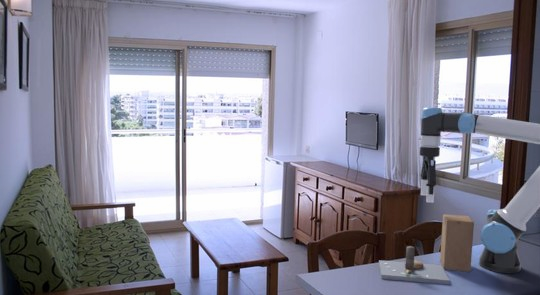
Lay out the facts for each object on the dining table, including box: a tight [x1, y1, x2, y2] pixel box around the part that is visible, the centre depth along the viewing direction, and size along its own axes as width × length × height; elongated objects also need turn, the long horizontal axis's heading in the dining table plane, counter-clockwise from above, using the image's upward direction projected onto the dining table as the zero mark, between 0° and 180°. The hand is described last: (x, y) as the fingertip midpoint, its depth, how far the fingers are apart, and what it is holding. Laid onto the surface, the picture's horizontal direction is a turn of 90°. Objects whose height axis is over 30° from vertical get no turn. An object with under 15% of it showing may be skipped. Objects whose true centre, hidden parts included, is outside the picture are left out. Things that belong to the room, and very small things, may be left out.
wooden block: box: [439, 213, 475, 272], centre depth 189 cm, size 10×10×20 cm
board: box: [378, 259, 451, 285], centre depth 181 cm, size 24×16×2 cm, turn 80°
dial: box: [404, 245, 424, 274], centre depth 181 cm, size 15×7×9 cm, turn 150°
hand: (426, 198), depth 191 cm, fingers open, 13 cm apart
